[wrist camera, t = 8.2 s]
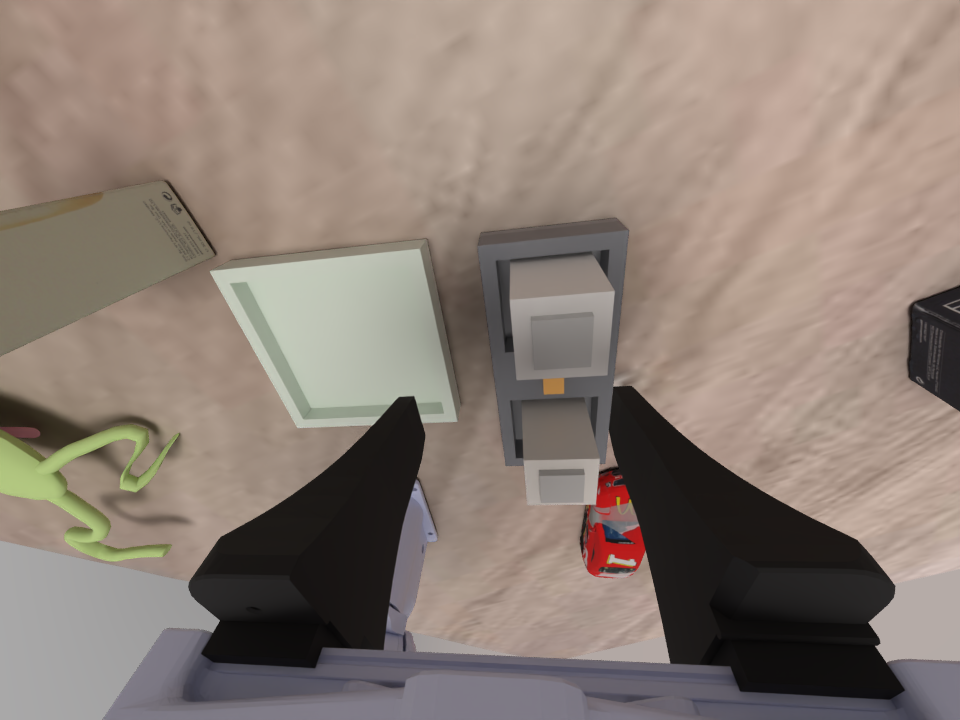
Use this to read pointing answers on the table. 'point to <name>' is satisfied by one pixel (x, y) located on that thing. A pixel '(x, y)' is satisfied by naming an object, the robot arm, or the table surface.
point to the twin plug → (559, 452)
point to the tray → (346, 331)
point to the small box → (937, 346)
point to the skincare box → (89, 256)
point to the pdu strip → (494, 258)
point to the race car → (611, 531)
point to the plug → (560, 316)
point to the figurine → (33, 476)
